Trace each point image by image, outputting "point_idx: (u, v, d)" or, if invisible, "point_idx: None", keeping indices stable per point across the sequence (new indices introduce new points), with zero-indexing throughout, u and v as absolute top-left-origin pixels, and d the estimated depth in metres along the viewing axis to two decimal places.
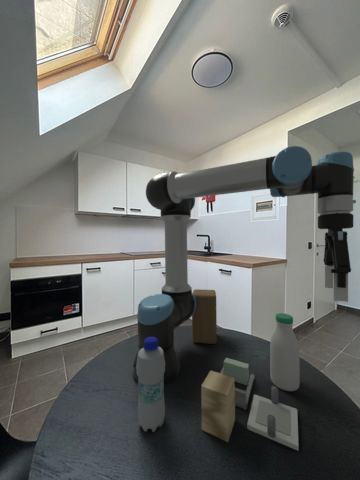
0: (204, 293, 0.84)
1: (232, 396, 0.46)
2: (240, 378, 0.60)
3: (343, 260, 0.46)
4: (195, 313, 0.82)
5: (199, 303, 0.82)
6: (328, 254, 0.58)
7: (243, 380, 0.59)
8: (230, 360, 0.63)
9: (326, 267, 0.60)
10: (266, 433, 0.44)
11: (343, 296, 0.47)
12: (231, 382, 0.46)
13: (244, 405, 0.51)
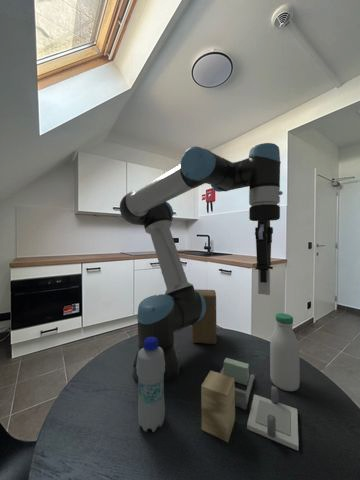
0: (204, 293, 0.84)
1: (232, 396, 0.46)
2: (240, 378, 0.60)
3: (262, 259, 0.50)
4: None
5: None
6: None
7: (243, 380, 0.59)
8: (230, 360, 0.63)
9: None
10: (266, 433, 0.44)
11: (265, 290, 0.53)
12: (231, 382, 0.46)
13: (244, 405, 0.51)
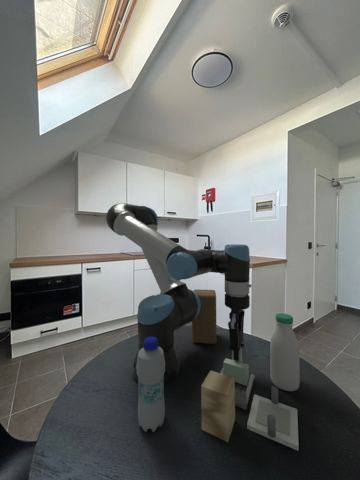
0: (204, 293, 0.84)
1: (232, 396, 0.46)
2: (240, 379, 0.60)
3: (234, 344, 0.60)
4: None
5: None
6: None
7: (243, 381, 0.59)
8: (230, 360, 0.63)
9: None
10: (266, 433, 0.44)
11: None
12: (231, 382, 0.46)
13: (244, 405, 0.51)
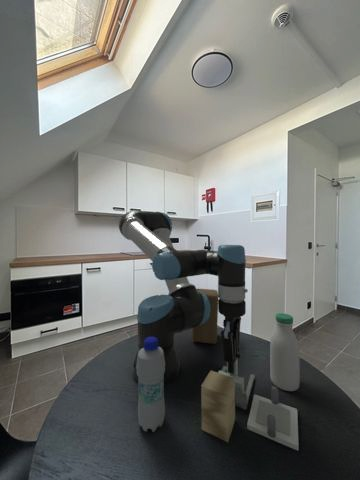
0: (206, 293, 0.84)
1: (232, 396, 0.46)
2: None
3: (228, 355, 0.54)
4: None
5: None
6: None
7: None
8: (224, 373, 0.57)
9: None
10: (266, 433, 0.44)
11: None
12: (231, 382, 0.46)
13: (244, 405, 0.51)
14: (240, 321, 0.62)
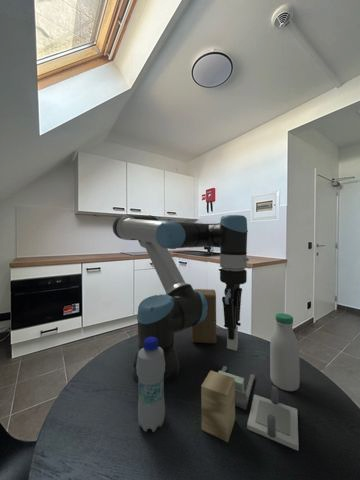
0: (204, 293, 0.84)
1: (232, 396, 0.46)
2: None
3: (229, 321, 0.56)
4: None
5: None
6: None
7: None
8: (223, 373, 0.57)
9: None
10: (266, 433, 0.44)
11: (233, 346, 0.59)
12: (231, 382, 0.46)
13: (244, 405, 0.51)
14: (241, 292, 0.64)
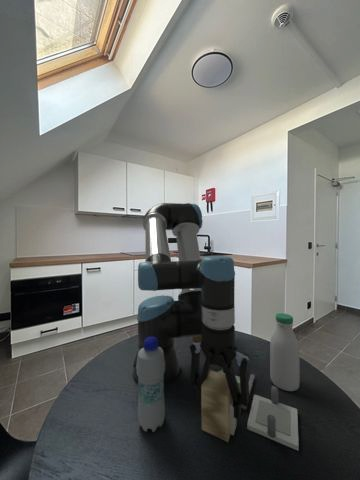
0: None
1: None
2: None
3: None
4: None
5: None
6: None
7: None
8: (223, 373, 0.57)
9: None
10: (266, 433, 0.44)
11: None
12: None
13: None
14: (245, 366, 0.42)
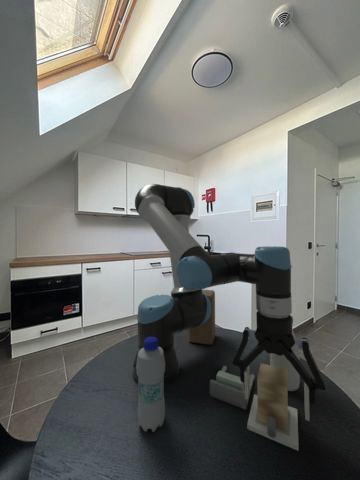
0: None
1: None
2: None
3: None
4: None
5: None
6: None
7: None
8: (223, 373, 0.57)
9: (304, 384, 0.45)
10: (266, 433, 0.44)
11: None
12: (285, 374, 0.47)
13: (244, 405, 0.51)
14: (308, 348, 0.43)
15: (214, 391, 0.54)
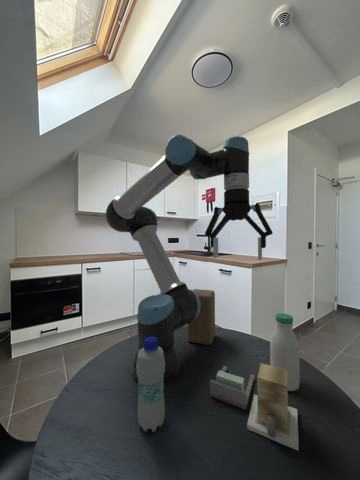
0: (200, 293, 0.84)
1: None
2: None
3: None
4: None
5: None
6: None
7: None
8: (223, 373, 0.57)
9: None
10: (266, 433, 0.44)
11: None
12: (285, 374, 0.47)
13: (244, 405, 0.51)
14: (258, 207, 0.59)
15: (214, 391, 0.54)
